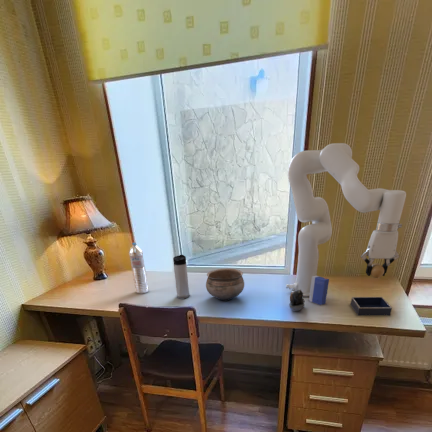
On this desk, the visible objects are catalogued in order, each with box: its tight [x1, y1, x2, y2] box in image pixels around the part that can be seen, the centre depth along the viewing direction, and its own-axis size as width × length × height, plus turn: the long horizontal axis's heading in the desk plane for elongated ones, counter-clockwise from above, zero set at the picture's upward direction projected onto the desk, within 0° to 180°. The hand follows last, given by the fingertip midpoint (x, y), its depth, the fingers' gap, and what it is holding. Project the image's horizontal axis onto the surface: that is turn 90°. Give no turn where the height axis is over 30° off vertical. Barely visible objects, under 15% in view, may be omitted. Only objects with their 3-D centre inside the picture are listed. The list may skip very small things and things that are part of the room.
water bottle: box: [128, 242, 149, 295], centre depth 172 cm, size 7×7×25 cm
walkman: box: [308, 275, 330, 306], centre depth 153 cm, size 8×3×12 cm, turn 32°
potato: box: [370, 262, 384, 279], centre depth 136 cm, size 5×8×5 cm, turn 175°
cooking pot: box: [205, 268, 245, 301], centre depth 163 cm, size 25×19×12 cm
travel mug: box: [172, 254, 190, 300], centre depth 165 cm, size 6×7×20 cm
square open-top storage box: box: [349, 296, 393, 317], centre depth 145 cm, size 13×13×4 cm
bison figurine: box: [289, 289, 306, 312], centre depth 148 cm, size 12×7×10 cm, turn 170°
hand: (375, 274), depth 137 cm, fingers closed on potato, 5 cm apart
